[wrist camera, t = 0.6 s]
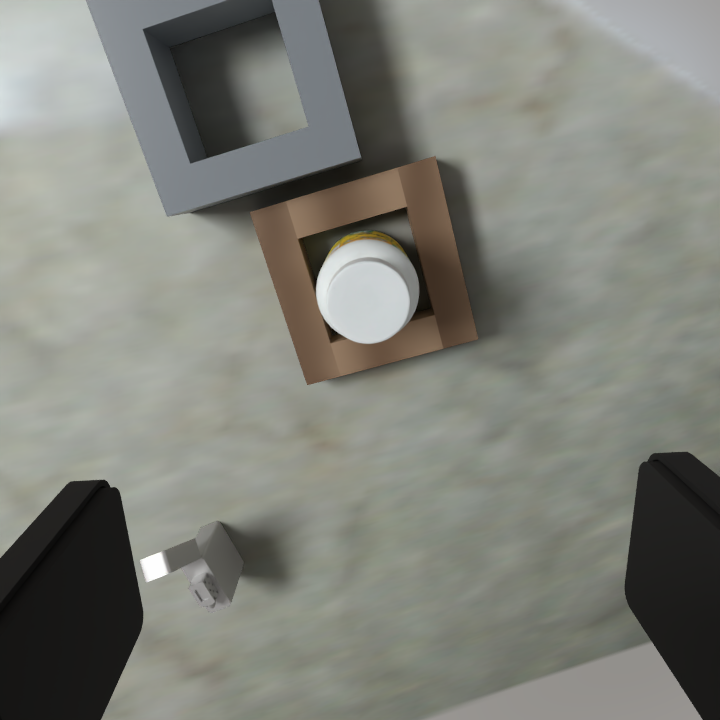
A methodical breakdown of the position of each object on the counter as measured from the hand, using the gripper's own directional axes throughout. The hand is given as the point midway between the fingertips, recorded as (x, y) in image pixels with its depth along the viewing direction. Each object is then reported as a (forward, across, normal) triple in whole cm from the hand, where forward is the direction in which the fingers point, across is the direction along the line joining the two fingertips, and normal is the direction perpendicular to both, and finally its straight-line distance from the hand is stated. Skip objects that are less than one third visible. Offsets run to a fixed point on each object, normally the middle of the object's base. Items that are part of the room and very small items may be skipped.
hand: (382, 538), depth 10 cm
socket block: (+27, +6, -11) cm, 30 cm away
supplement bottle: (+27, -1, 0) cm, 27 cm away
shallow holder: (+27, -1, 0) cm, 27 cm away
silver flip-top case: (+27, +11, +18) cm, 35 cm away
